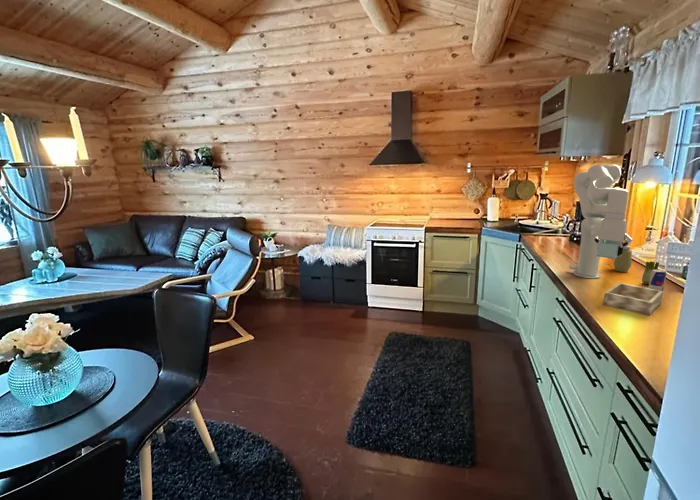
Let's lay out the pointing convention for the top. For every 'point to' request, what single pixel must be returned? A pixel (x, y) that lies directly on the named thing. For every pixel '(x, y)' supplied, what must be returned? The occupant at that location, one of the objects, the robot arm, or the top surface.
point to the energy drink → (657, 279)
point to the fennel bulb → (649, 271)
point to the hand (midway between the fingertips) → (609, 253)
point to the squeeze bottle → (623, 260)
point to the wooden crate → (633, 298)
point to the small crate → (608, 249)
